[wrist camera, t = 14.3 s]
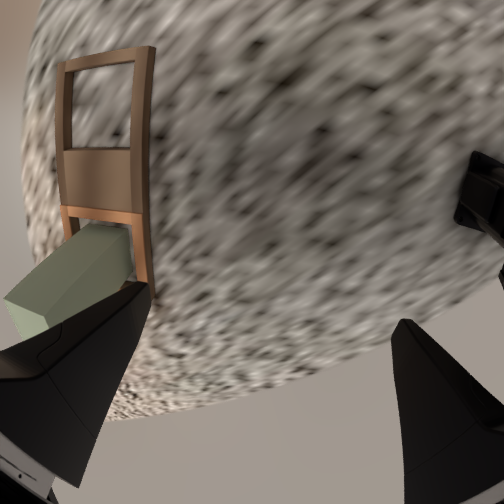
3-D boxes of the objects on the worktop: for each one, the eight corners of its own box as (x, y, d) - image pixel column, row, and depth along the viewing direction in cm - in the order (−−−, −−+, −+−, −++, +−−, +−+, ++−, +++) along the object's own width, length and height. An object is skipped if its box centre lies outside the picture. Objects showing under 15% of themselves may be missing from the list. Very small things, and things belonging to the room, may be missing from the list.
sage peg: (127, 229, 24) (44, 316, 13) (132, 271, 26) (66, 364, 15) (88, 223, 24) (3, 298, 13) (95, 263, 26) (25, 344, 15)
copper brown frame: (155, 48, 16) (147, 45, 15) (155, 294, 27) (149, 303, 26) (66, 63, 16) (56, 63, 15) (83, 278, 27) (76, 285, 26)
